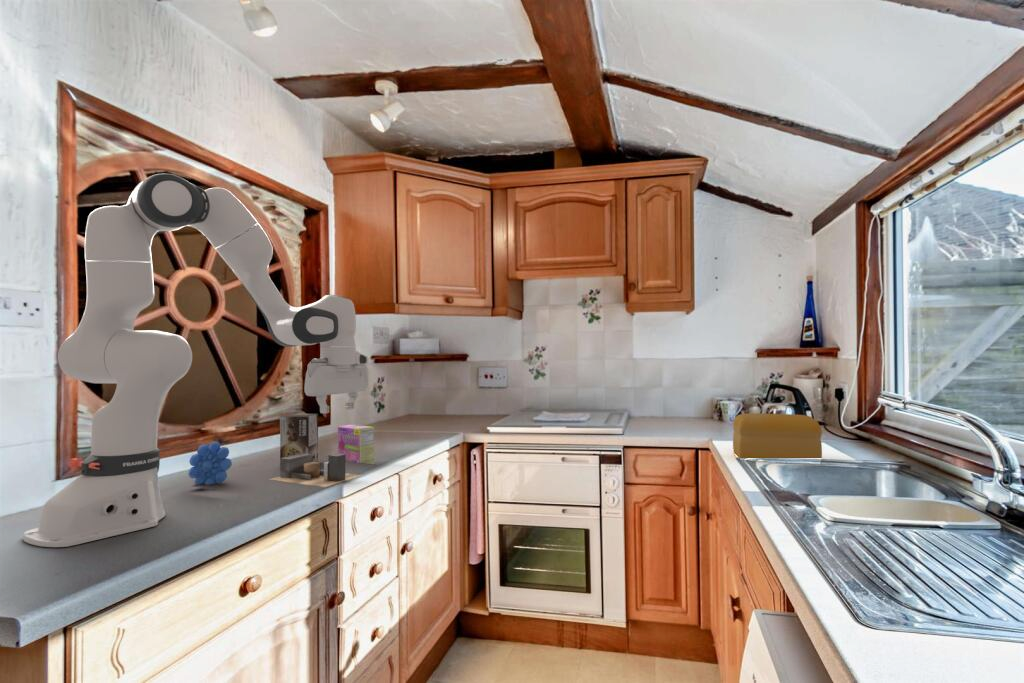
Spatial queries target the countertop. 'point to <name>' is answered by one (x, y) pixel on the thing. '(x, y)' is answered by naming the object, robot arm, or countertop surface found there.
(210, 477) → the grapes
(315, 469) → the nut puck
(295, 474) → the bench
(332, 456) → the ram handle
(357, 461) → the box
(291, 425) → the coffee box
